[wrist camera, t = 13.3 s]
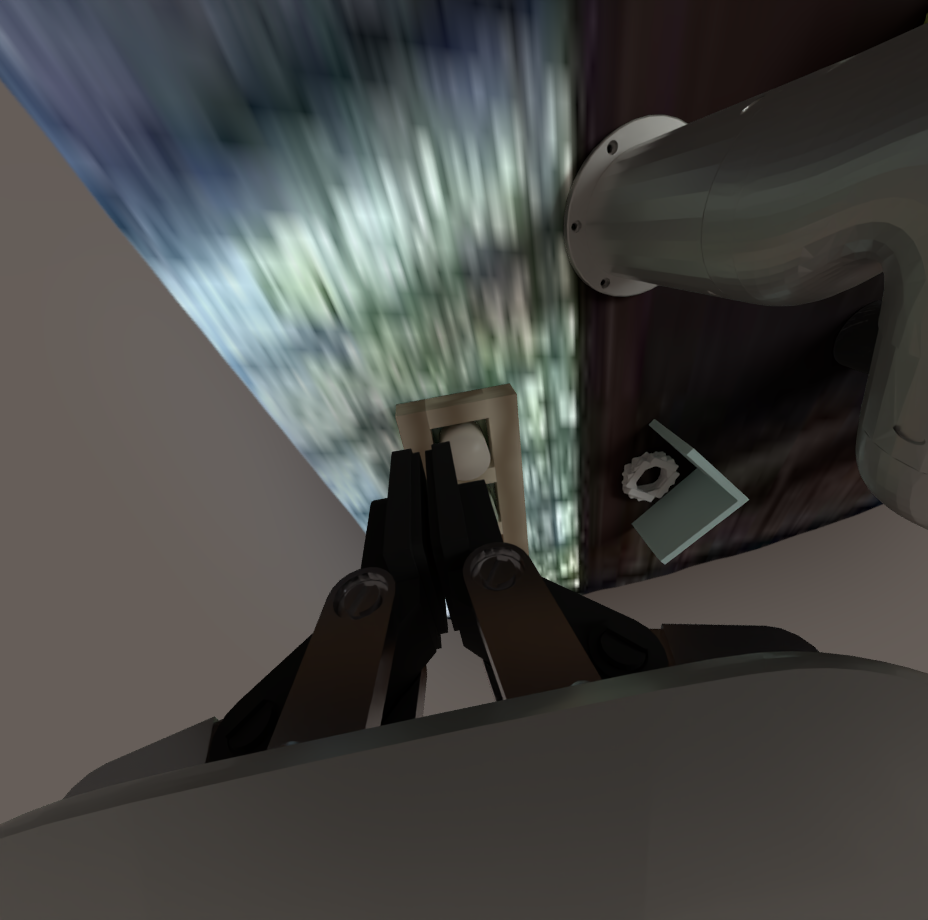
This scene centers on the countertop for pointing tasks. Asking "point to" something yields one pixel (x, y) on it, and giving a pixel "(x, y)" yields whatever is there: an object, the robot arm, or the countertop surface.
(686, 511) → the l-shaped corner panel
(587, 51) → the countertop surface
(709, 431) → the countertop surface
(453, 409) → the wooden rectangular frame
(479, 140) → the countertop surface
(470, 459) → the beige egg
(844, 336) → the travel mug
